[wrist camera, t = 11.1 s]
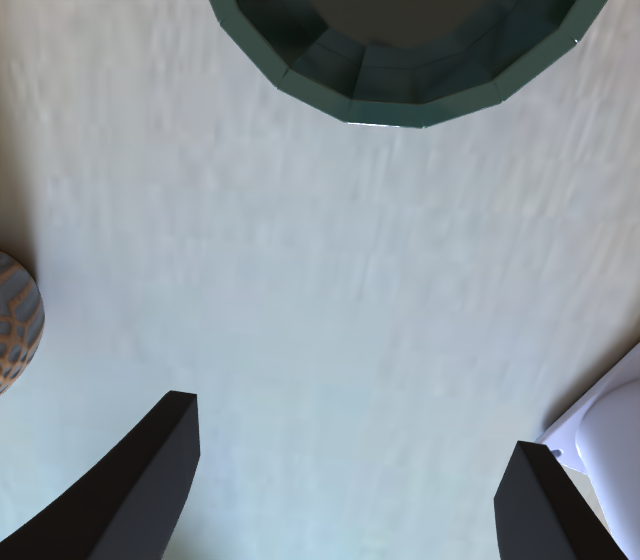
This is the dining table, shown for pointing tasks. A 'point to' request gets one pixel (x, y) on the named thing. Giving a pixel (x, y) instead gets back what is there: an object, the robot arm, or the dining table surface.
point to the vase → (18, 320)
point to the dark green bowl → (404, 52)
